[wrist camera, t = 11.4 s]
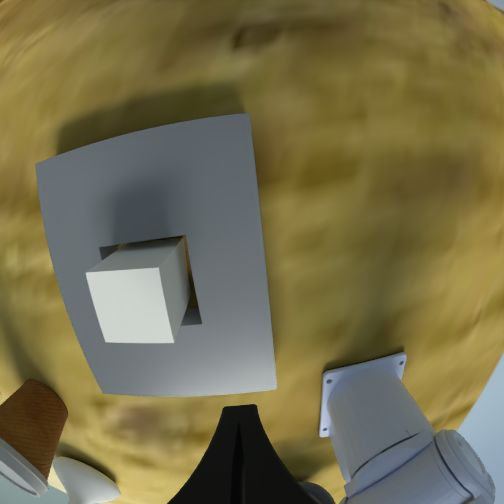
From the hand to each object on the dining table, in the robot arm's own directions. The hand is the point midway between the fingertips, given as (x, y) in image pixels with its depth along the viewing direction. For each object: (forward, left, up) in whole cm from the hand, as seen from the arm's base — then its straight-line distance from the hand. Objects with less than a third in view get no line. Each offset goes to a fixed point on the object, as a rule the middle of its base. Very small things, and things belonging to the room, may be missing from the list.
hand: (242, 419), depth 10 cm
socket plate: (+4, +5, -9) cm, 11 cm away
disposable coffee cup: (-10, +24, -10) cm, 28 cm away
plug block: (+4, +5, -10) cm, 12 cm away
